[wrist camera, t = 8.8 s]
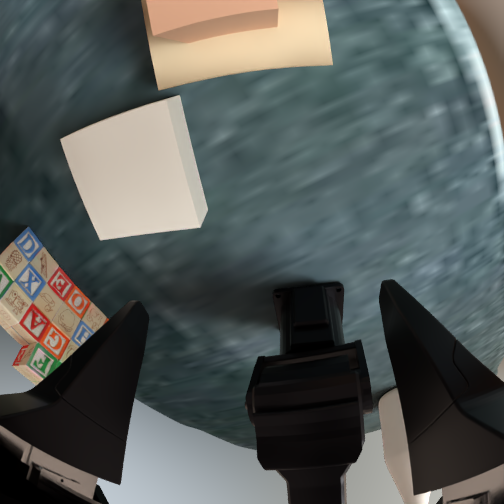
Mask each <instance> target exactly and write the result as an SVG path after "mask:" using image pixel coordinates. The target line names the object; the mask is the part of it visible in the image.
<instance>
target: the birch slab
mask: <svg viewBox="0 0 504 504" xmlns="http://www.w3.org/2000/svg"><path fill="white" fill-rule="evenodd" d="M141 1H142V7H143V13H144V19H145V25H146V31H147V36H148V41H149V47H150V52H151V57H152V62H153V67H154V72H155V76H156V81H157V86H158V90H163V89H167V88H172V87H176V86H179V85H183V84H187V83H192V82H196V81H201V80H205V79H210V78H215V77H220V76H226V75H231V74H238V73H244V72H251V71H259V70H267V69H276V68H288V67H302V66H326V65H333V63H332V56H331V48H330V41H329V35H328V28H327V22H326V16H325V11H324V6H323V0H277V3H278V8H279V11H278V27H274V28H265V29H257V30H250V31H244V32H238V33H232V34H227V35H222V36H217V37H212V38H208V39H204V40H199V41H195V42H192V43H184V42H180V41H175V40H171V39H166V38H161V37H156V36H153V34H152V29H151V24H150V18H149V13H148V7H147V2H146V0H141Z"/></svg>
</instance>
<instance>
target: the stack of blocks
mask: <svg viewBox="0 0 504 504" xmlns="http://www.w3.org/2000/svg"><path fill="white" fill-rule="evenodd" d="M108 320H109V319H108V318H107V317H106V316H105V315H104V314H103V313H102V312H101V311H100V310H99V309H98V308H97V307H96V306H95V305H94V304H93V303H92V302H91V301H90V300H89V299H88V298H87V297H86V296H85V295H84V294H83V293H82V292H81V291H80V289H79V288H78V287H77V286H76V285H75V284H74V283H73V282H72V281H71V280H70V278H69V277H68V276H67V275H66V274H65V273H64V271H63V270H62V269H61V268H60V267H59V265H58V264H57V263H56V261H55V260H54V259H53V258H52V257H51V255H50V254H49V253H48V251H47V250H46V249H45V247H43V245H42V243H41V242H40V241H39V239H38V238H37V237H36V235H35V234H34V233H33V231H32V230H31V229H30V227H27V228H26V229H25V230H24V231H23V232H22V233H21V234H20V235H19V236H18V237H17V238H16V239H15V240H14V241H13V242H12V243H11V244H10V245H9V246H8V247H7V248H6V249H5V250H4V251H3V252H2V253H1V255H0V325H1V326H2V327H3V328H4V329H5V330H6V331H7V332H8V333H9V334H10V335H11V336H12V337H13V338H14V339H15V340H16V341H17V342H18V343H19V344H21V345H23V347H22V348H21V349H20V351H19V353H18V355H17V357H16V359H15V361H14V363H13V367H14V368H16V370H18V371H19V372H20V373H21V374H22V375H24V376H25V377H26V378H27V379H29V380H30V381H31V382H32V383H33V384H35V385H37V384H38V383H40V382H41V381H42V380H43V379H44V378H46V377H47V376H48V375H49V374H50V373H52V372H53V371H54V370H55V369H56V368H57V367H59V366H60V365H61V364H62V363H63V362H64V361H65V360H66V359H67V358H68V357H69V356H70V355H72V353H73V352H75V351H76V350H77V349H78V348H79V347H80V346H81V345H82V344H83V343H84V342H85V341H86V340H87V339H88V338H90V337H91V336H92V335H93V334H94V333H95V332H96V331H97V330H98V329H99V328H100V327H101V326H103V325H104V324H105V323H106V322H107V321H108Z"/></svg>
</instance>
